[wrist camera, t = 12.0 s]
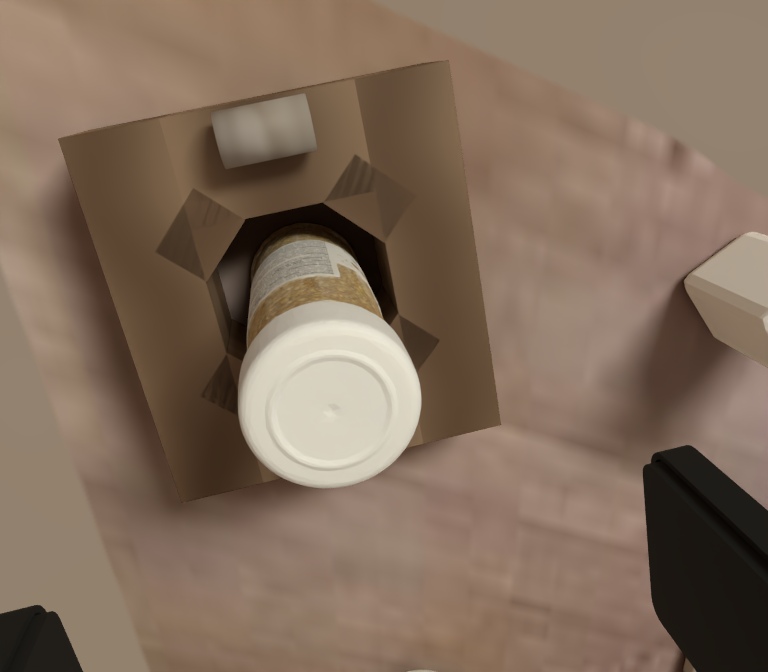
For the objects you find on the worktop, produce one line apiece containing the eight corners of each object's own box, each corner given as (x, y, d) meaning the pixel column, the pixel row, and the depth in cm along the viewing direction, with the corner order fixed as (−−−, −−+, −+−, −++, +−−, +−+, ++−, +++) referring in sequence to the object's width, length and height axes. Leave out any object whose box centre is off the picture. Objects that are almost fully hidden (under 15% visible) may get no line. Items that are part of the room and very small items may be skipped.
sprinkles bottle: (369, 310, 31) (440, 468, 18) (265, 337, 30) (265, 516, 18) (345, 206, 29) (405, 302, 17) (235, 233, 29) (211, 351, 16)
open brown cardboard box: (424, 62, 28) (462, 58, 22) (474, 385, 33) (515, 445, 27) (87, 130, 27) (41, 143, 21) (191, 453, 32) (176, 529, 26)
